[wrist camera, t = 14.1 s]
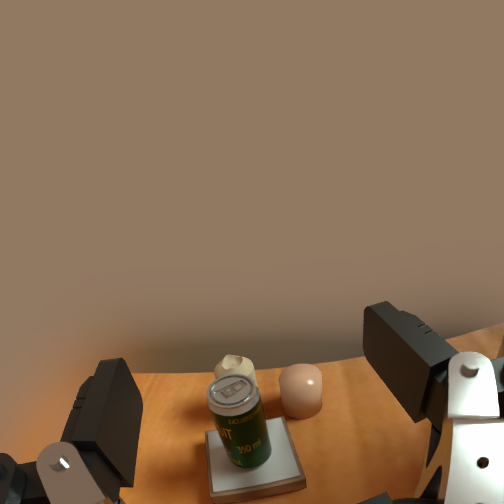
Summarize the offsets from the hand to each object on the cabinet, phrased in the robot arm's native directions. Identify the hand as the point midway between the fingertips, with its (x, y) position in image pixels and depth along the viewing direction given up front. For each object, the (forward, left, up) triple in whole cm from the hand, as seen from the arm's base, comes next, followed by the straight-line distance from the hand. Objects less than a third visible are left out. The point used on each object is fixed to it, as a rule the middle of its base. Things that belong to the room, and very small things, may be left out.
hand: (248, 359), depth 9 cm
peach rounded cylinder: (-7, -24, -30) cm, 39 cm away
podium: (+2, -15, -30) cm, 34 cm away
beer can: (+2, -15, -27) cm, 31 cm away
